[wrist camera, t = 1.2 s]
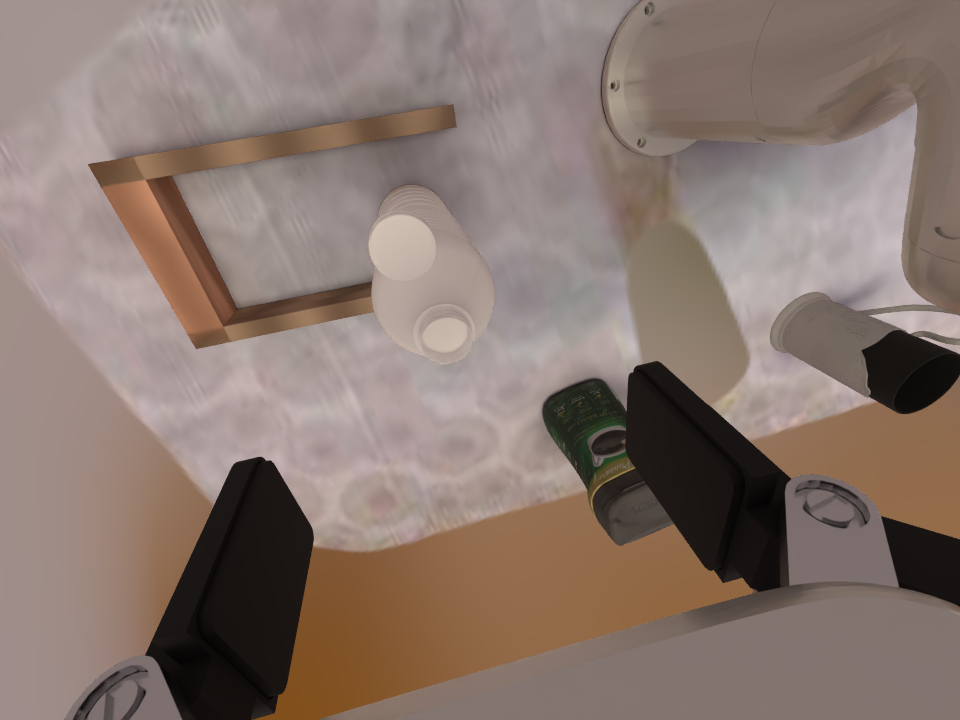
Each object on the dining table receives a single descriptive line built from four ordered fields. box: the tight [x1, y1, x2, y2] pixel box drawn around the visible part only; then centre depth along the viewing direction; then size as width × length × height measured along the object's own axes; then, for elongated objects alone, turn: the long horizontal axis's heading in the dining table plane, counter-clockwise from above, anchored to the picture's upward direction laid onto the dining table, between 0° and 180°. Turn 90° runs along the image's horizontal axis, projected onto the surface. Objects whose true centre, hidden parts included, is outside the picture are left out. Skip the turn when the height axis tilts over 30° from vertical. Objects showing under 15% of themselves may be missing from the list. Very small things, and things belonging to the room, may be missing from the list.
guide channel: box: [88, 105, 456, 349], centre depth 35 cm, size 26×15×4 cm, turn 98°
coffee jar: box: [543, 380, 674, 546], centre depth 46 cm, size 10×8×19 cm
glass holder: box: [770, 292, 960, 414], centre depth 48 cm, size 9×14×15 cm, turn 122°
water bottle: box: [368, 185, 495, 364], centre depth 27 cm, size 9×6×25 cm
